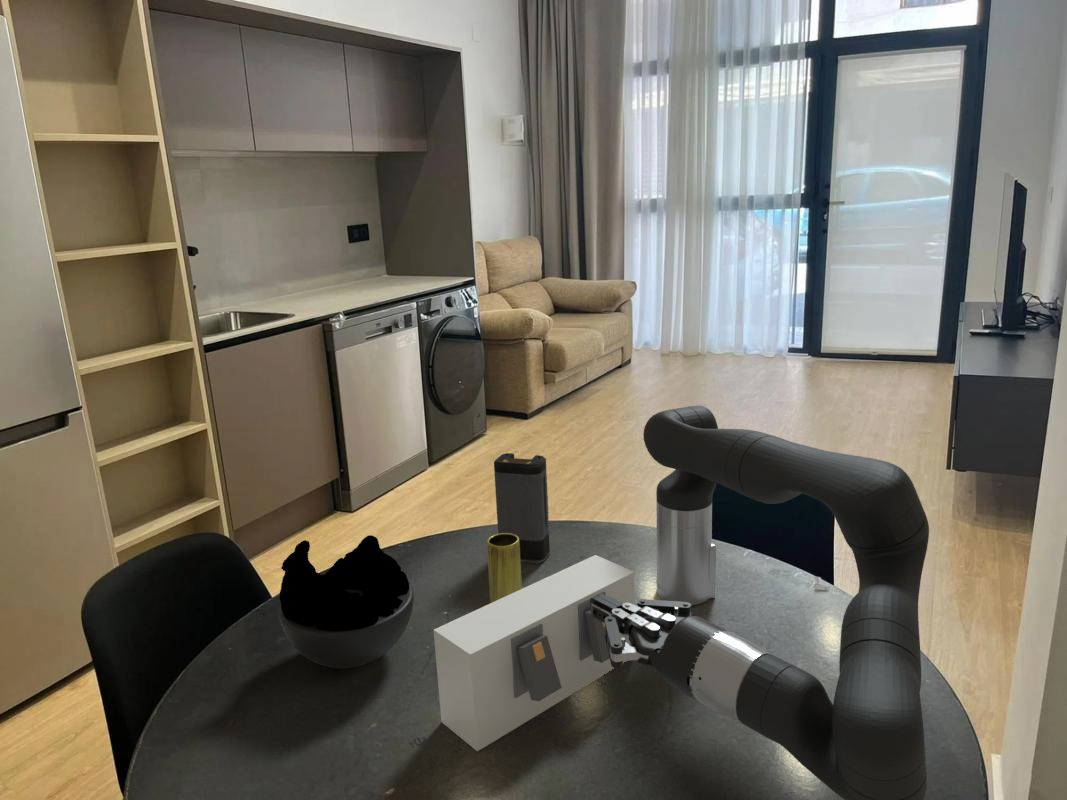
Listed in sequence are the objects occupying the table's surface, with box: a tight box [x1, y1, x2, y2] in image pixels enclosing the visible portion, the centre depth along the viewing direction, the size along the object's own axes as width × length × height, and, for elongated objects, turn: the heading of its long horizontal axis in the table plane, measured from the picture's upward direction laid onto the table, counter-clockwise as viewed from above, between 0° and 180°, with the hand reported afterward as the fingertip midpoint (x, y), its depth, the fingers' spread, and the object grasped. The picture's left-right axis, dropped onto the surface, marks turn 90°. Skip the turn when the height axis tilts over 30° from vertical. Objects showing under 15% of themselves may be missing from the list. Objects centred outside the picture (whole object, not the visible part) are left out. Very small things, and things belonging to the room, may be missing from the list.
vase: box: [486, 533, 523, 604], centre depth 130 cm, size 6×6×14 cm
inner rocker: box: [585, 610, 610, 663], centre depth 109 cm, size 2×4×7 cm, turn 131°
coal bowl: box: [278, 534, 415, 669], centre depth 120 cm, size 20×20×19 cm
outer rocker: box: [516, 635, 562, 701], centre depth 102 cm, size 2×4×7 cm, turn 131°
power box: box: [433, 554, 636, 752], centre depth 111 cm, size 8×30×14 cm, turn 131°
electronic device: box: [493, 452, 551, 564], centre depth 151 cm, size 9×6×20 cm, turn 71°
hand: (594, 603), depth 91 cm, fingers closed
